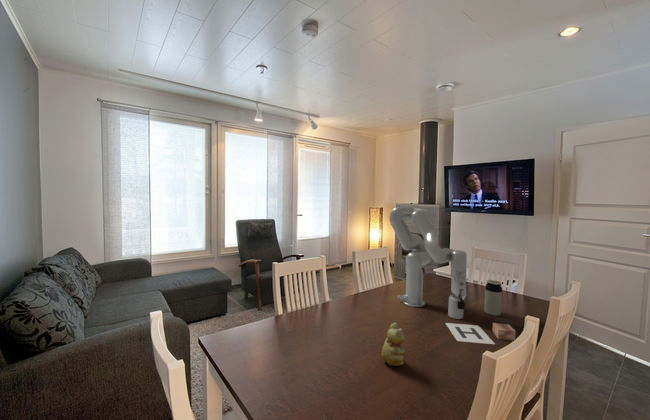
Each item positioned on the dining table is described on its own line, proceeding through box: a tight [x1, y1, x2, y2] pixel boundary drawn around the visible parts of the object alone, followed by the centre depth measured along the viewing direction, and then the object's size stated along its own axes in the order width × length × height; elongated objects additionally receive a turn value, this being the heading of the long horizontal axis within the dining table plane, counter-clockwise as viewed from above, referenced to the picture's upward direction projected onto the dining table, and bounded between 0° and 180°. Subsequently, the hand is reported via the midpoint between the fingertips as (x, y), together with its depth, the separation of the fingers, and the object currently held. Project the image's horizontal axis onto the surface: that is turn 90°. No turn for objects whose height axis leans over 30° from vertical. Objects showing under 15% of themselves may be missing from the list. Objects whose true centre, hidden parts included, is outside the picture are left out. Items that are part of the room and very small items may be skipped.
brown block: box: [492, 322, 517, 342], centre depth 131 cm, size 7×7×5 cm
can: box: [447, 293, 465, 320], centre depth 150 cm, size 8×8×12 cm
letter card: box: [445, 322, 496, 345], centre depth 133 cm, size 16×18×1 cm
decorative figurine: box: [381, 322, 406, 367], centre depth 108 cm, size 10×8×15 cm
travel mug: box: [483, 279, 503, 317], centre depth 157 cm, size 8×8×18 cm
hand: (457, 305), depth 150 cm, fingers open, 9 cm apart
